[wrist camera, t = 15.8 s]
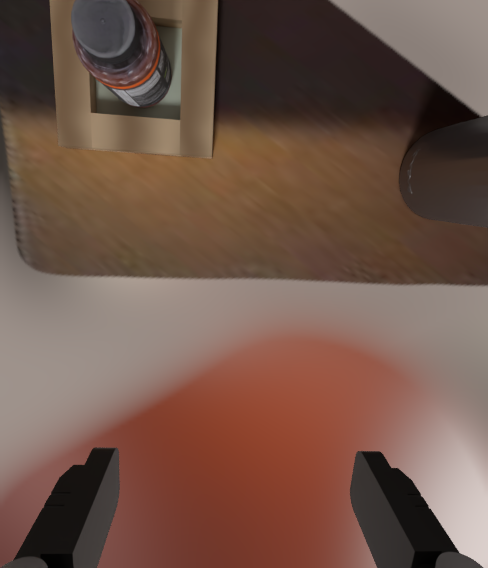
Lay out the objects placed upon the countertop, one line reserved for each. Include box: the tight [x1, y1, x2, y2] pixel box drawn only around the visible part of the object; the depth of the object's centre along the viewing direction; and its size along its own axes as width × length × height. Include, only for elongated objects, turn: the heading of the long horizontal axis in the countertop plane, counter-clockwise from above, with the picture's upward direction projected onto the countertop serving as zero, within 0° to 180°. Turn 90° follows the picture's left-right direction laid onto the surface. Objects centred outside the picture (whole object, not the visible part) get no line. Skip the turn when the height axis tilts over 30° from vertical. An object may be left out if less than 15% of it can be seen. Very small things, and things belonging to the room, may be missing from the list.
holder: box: [50, 0, 218, 159], centre depth 33 cm, size 14×16×2 cm
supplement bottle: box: [71, 0, 172, 108], centre depth 28 cm, size 6×6×11 cm
